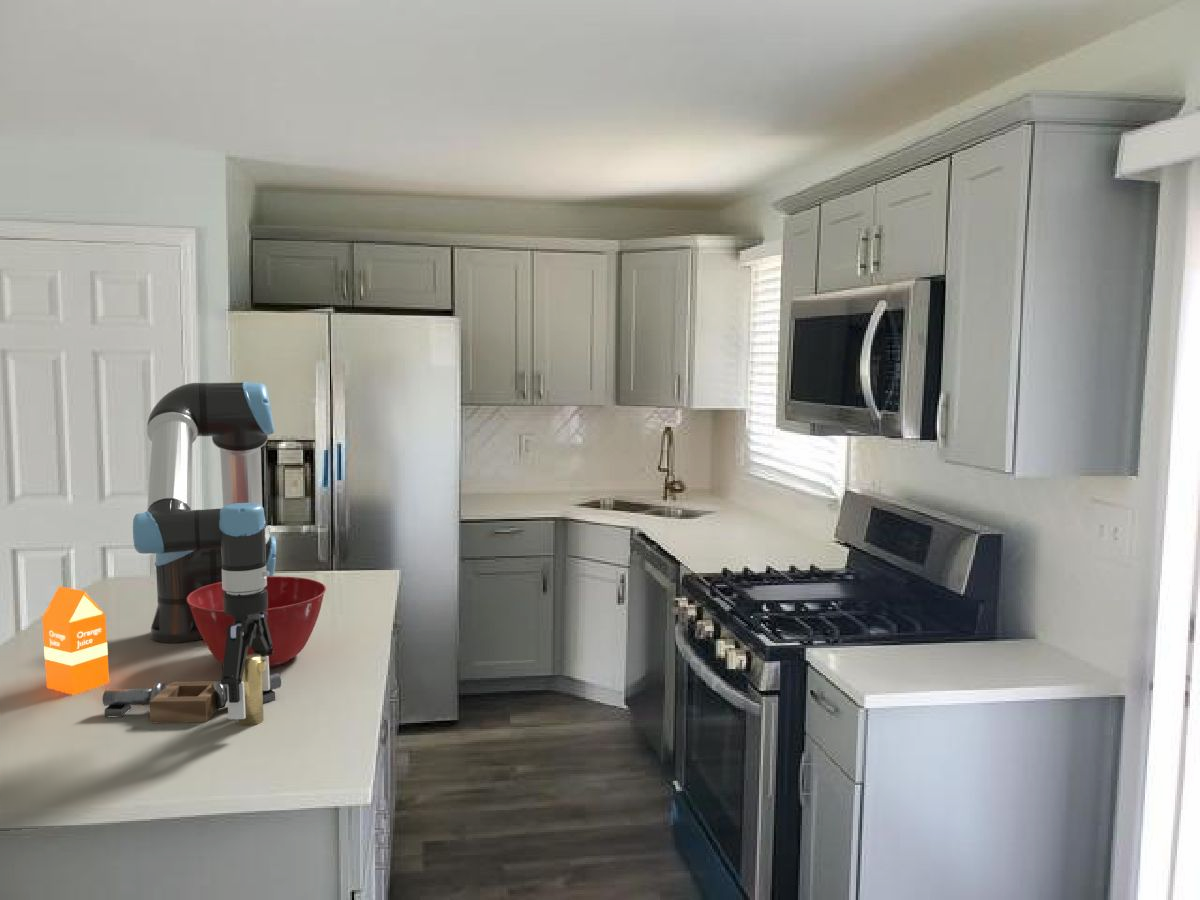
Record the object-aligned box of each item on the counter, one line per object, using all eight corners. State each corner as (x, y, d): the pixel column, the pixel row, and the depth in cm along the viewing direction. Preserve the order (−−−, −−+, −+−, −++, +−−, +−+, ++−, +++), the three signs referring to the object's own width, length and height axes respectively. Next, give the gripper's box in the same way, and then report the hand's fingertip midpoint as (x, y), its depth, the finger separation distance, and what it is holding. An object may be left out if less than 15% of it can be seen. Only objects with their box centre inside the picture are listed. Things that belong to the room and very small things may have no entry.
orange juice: (83, 675, 190) (77, 582, 188) (110, 682, 186) (104, 587, 184) (45, 688, 183) (39, 590, 181) (72, 695, 179) (66, 596, 177)
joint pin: (238, 716, 169) (235, 653, 167) (271, 716, 169) (268, 653, 168) (229, 726, 164) (226, 661, 163) (263, 725, 164) (261, 661, 163)
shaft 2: (221, 714, 169) (220, 686, 169) (211, 707, 173) (210, 679, 172) (284, 698, 177) (282, 671, 177) (273, 691, 181) (272, 664, 180)
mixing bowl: (350, 643, 211) (348, 578, 209) (284, 687, 183) (281, 613, 181) (241, 636, 217) (238, 572, 215) (160, 677, 189) (156, 605, 187)
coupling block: (173, 702, 176) (172, 681, 175) (226, 701, 176) (225, 681, 176) (150, 722, 166) (149, 701, 165) (206, 721, 166) (205, 700, 166)
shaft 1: (167, 707, 173) (166, 679, 173) (156, 717, 168) (154, 688, 168) (114, 707, 173) (112, 679, 172) (100, 718, 168) (99, 689, 167)
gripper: (242, 608, 152) (247, 731, 154) (286, 573, 176) (290, 679, 179) (196, 609, 151) (202, 732, 154) (247, 573, 176) (251, 679, 178)
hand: (250, 703), depth 166 cm, fingers open, 13 cm apart
